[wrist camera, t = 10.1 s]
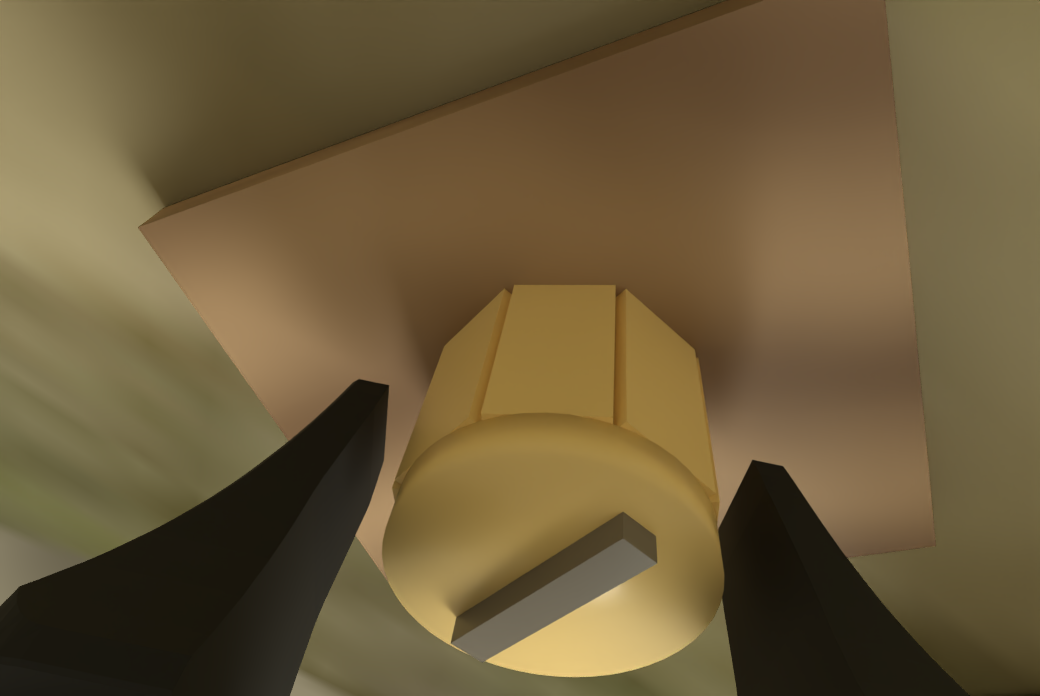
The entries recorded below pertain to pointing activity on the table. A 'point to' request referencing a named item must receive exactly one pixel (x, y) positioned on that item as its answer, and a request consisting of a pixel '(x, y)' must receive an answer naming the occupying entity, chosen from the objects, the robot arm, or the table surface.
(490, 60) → the table surface
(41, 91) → the table surface
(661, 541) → the cap
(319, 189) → the post board
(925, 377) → the table surface
